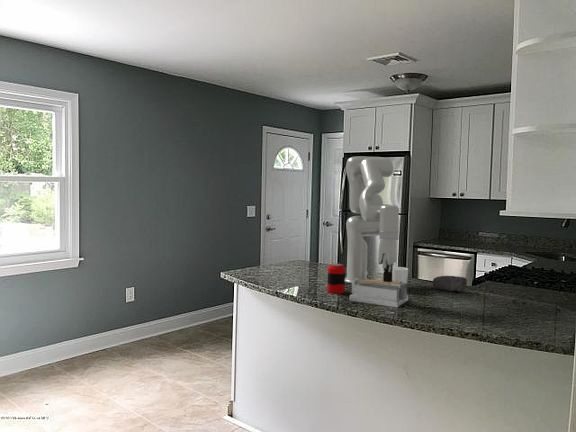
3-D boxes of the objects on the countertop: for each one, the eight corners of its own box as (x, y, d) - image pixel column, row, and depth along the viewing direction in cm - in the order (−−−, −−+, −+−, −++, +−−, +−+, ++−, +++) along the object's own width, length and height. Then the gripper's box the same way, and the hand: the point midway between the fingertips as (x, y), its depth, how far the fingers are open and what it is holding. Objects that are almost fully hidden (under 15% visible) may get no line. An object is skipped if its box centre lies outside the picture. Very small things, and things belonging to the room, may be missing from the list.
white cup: (396, 292, 216) (396, 270, 215) (386, 289, 223) (386, 267, 222) (411, 291, 219) (412, 269, 218) (400, 288, 226) (401, 266, 225)
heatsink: (359, 293, 213) (360, 275, 212) (410, 300, 202) (411, 281, 201) (346, 300, 201) (347, 280, 200) (399, 307, 190) (400, 287, 189)
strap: (359, 281, 207) (359, 278, 207) (402, 283, 198) (402, 280, 198) (355, 282, 204) (355, 280, 204) (399, 285, 195) (399, 282, 195)
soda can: (343, 294, 211) (344, 266, 210) (326, 293, 212) (326, 265, 211) (345, 290, 218) (346, 263, 217) (328, 289, 220) (328, 262, 219)
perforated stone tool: (430, 289, 225) (430, 274, 224) (434, 287, 229) (434, 272, 228) (463, 294, 216) (464, 278, 215) (467, 292, 220) (467, 276, 220)
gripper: (385, 234, 206) (384, 278, 206) (373, 236, 193) (372, 283, 193) (403, 235, 202) (402, 279, 203) (391, 237, 189) (390, 285, 190)
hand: (387, 281), depth 198 cm, fingers closed
